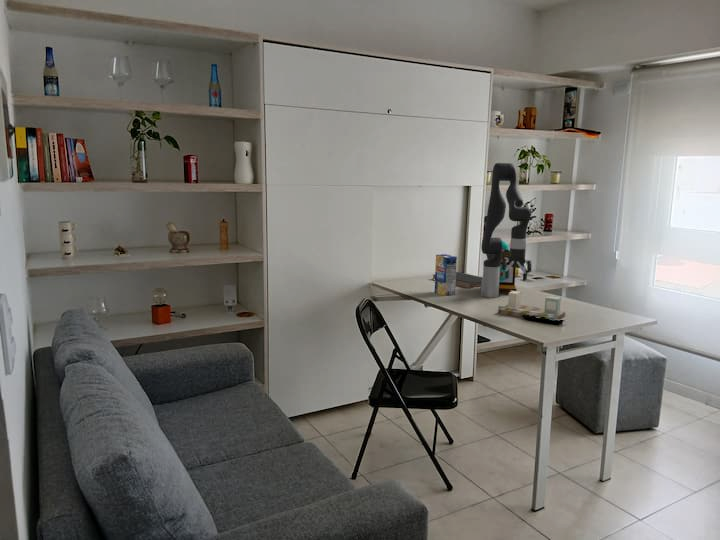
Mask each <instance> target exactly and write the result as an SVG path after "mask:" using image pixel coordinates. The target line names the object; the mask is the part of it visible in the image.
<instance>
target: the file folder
mask: <svg viewBox="0 0 720 540" xmlns="http://www.w3.org/2000/svg"><path fill="white" fill-rule="evenodd" d="M433 279H435V273H434V274H432V280H433ZM481 279H483V276H478V275H473V274H469V273H465V272H464V273H463V272H460V271H459V272H458V271H456V286H458V285H459V286H458V287H463V288H465V289H473V288H474V287H476V288H481ZM474 289H475V288H474Z"/></svg>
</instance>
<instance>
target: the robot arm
mask: <svg viewBox="0 0 720 540" xmlns="http://www.w3.org/2000/svg"><path fill="white" fill-rule="evenodd" d="M507 181H508V182H509V183H510V184H509V186H508V187H507V189H506V192H505V198H506V200H507V202H506V201H505V198H504V196H503V194H502V192H501V189H500V182H507ZM489 195H490V196H489V200H488V201H489V202H488V206H487V211H486V214H487V215H486V220H485V221H486V222H485V227H484V232H483V237H482V241H481V246H480V247H481V252H482V254H485V255H486V254H493V256H492V257H491V258H489V259H487V258H486V259H485V260H484V261H483V266H482V267H483V270H482V271H483V272H482V277H483V279H481V287H480V297H481V296H482V297H484V298H490V299H491V298H494V297H495V298H498V297H499V295H500V292H499V291H500V290H499V280H500V264H501V257H502V248H503V243H502V241H503V239H502V238H500V237H492V235H493V234H494V231H495V229H496V228H497V227H498V226H499V225H500V224H501V222H502V221H503V220H504V217H505V215H506V208H507V204H508V219H509V220H510V221H512V222H520V224H518V225H514V226H512V227H511V231H510V232H511V233H510V234H511V235H510V243H509V251H510V255H509V256H510V257H509V259H508V258H503V263H502V270H505V277H506V279H509V272H510V271H509V270H510V269H511V268H512V267H513V268H515V267H516V268H518V269H520V270H521V271H522V272H523V273H522V281H523V282H525V281H527V280H528V274H529V273H532V260H531V259H530V260H529V259H526V251H527V250H526V249H527V239H526V238H527V231H528V225H529V223H530V220H531V217H532V210H531V209H530V208H529V206H523V205H524V200H523V198H522V197H523V196H522V195H521V192H520V188H519V183H518V174H517V170H516V167H515V164H513V163H510V162H508V163H507V162H497V163H495V164H494V165H493V168H492V175H491V188H490V194H489ZM506 203H507V204H506ZM508 261H509V263H510V264H509V266H508V267H507V268H506V264H507V262H508ZM525 264H526V266H527V267H526V266H525Z"/></svg>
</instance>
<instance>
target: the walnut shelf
mask: <svg viewBox="0 0 720 540" xmlns="http://www.w3.org/2000/svg"><path fill="white" fill-rule="evenodd" d="M497 309H498V310H497V313H498V314H501V315H506V316H513V317H517V318H523V317H522V316H523V315H529V316H535V317H545V318H550V319H560V320H561V319H562V318H564V317H565V316H566V311H562V310H560V314H559V315H557V316H556V315H553V314H547V313H544V312H545V308H542V307H537V306H536V307H535V306H529V305H522V304H520V308H518V309H516V308H510V307H508V304H506V305H502V306H501V305H498V308H497Z"/></svg>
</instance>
